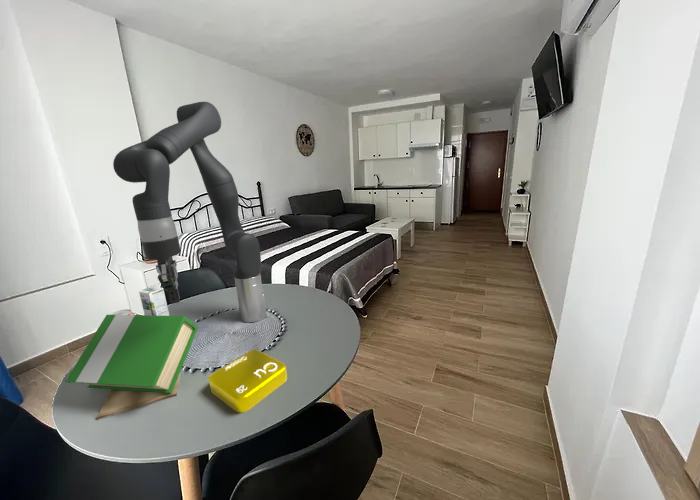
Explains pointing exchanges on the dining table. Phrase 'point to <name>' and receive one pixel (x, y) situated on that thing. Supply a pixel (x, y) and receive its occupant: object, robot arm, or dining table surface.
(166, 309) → the syrup box
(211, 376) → the element tile
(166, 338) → the hardback book
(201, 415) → the dining table surface
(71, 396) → the dining table surface
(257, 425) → the dining table surface
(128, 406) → the brown flat panel
